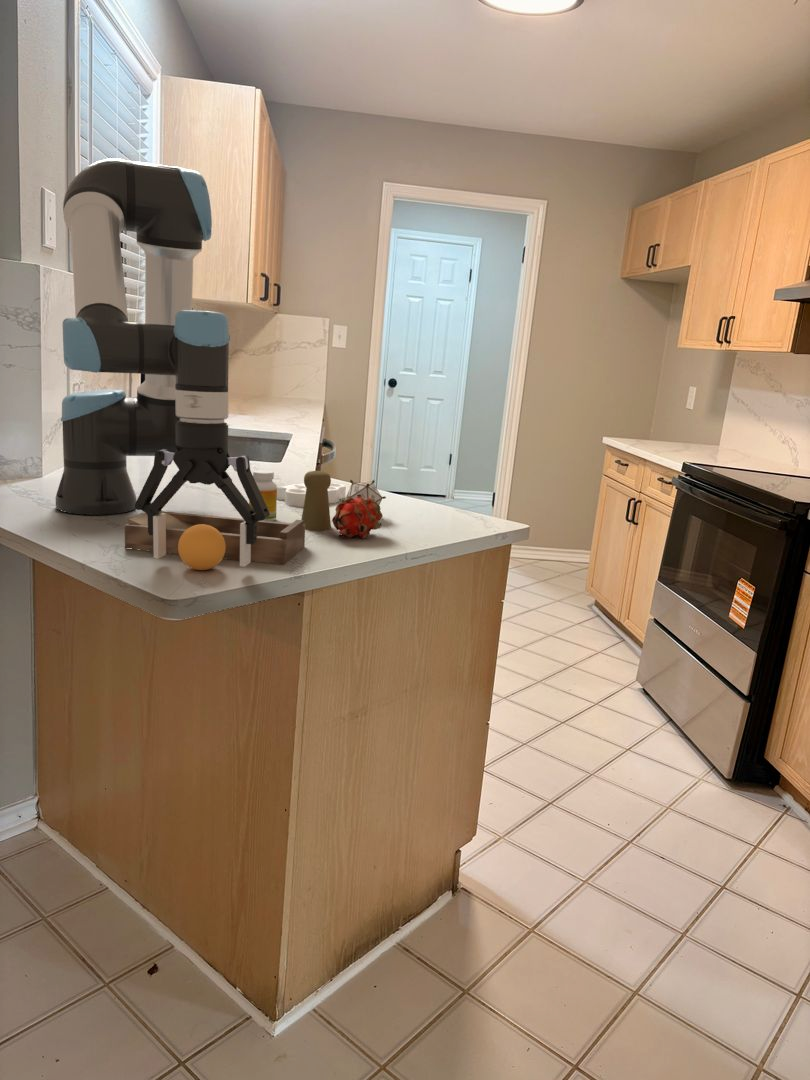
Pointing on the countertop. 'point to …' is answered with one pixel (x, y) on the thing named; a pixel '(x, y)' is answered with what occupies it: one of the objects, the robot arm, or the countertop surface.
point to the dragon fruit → (357, 517)
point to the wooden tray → (270, 547)
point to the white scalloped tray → (297, 492)
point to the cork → (316, 501)
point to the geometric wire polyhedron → (364, 491)
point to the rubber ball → (201, 547)
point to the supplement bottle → (267, 491)
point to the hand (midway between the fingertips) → (202, 560)
